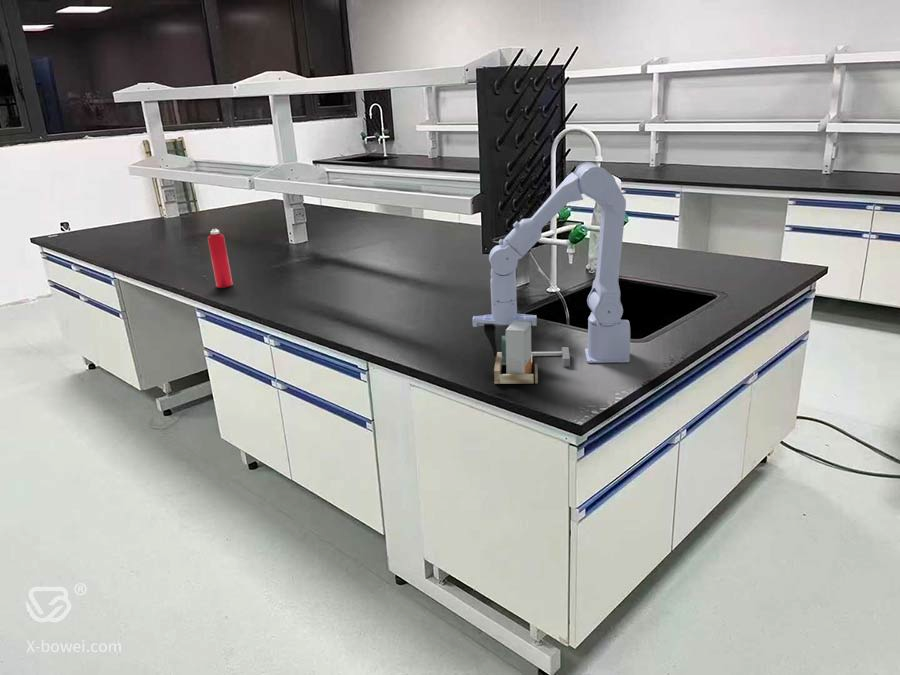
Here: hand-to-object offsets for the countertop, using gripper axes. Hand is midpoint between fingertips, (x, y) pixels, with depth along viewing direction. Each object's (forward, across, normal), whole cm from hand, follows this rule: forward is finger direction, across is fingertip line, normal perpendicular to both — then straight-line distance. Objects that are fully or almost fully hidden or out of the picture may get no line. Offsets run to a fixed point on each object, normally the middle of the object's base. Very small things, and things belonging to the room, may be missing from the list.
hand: (505, 354), depth 157 cm
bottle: (+2, +100, -70) cm, 123 cm away
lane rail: (+2, -6, 0) cm, 6 cm away
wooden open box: (+2, -3, +5) cm, 6 cm away
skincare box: (+2, -3, +8) cm, 9 cm away
